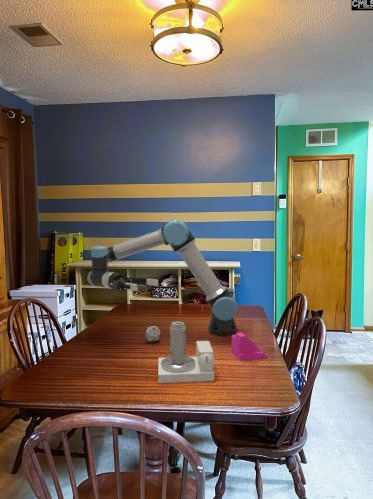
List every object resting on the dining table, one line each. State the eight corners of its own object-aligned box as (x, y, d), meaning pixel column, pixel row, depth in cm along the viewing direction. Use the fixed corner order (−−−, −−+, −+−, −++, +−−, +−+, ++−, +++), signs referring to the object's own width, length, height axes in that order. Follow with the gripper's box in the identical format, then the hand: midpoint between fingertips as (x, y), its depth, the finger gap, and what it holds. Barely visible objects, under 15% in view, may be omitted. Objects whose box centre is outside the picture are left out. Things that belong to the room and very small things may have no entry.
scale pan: (193, 358, 140) (193, 355, 140) (197, 371, 127) (197, 368, 127) (161, 359, 139) (161, 356, 139) (161, 373, 126) (161, 369, 126)
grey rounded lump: (155, 350, 167) (158, 338, 161) (139, 343, 168) (141, 330, 162) (163, 336, 174) (166, 324, 168) (147, 329, 175) (150, 317, 169)
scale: (209, 363, 142) (209, 339, 141) (215, 380, 126) (215, 353, 125) (158, 365, 141) (158, 340, 140) (158, 383, 125) (157, 355, 124)
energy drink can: (170, 358, 136) (170, 321, 135) (186, 359, 136) (186, 321, 135) (169, 365, 130) (169, 325, 129) (185, 365, 130) (185, 325, 129)
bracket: (240, 361, 144) (240, 336, 144) (231, 352, 154) (231, 329, 154) (267, 358, 147) (267, 334, 146) (257, 349, 157) (257, 327, 156)
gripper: (132, 284, 175) (165, 289, 162) (92, 293, 155) (126, 298, 142) (132, 269, 174) (165, 273, 162) (92, 276, 154) (126, 280, 142)
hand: (147, 285), depth 152 cm, fingers open, 13 cm apart
